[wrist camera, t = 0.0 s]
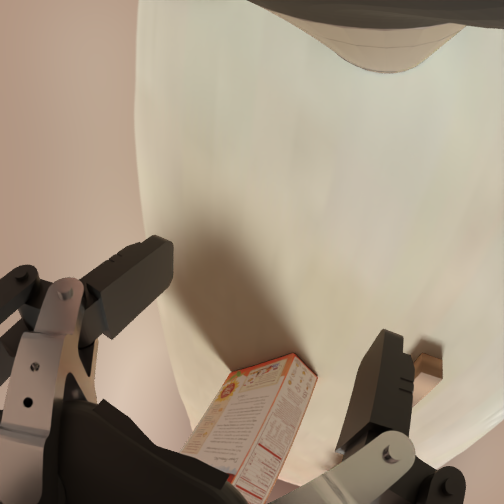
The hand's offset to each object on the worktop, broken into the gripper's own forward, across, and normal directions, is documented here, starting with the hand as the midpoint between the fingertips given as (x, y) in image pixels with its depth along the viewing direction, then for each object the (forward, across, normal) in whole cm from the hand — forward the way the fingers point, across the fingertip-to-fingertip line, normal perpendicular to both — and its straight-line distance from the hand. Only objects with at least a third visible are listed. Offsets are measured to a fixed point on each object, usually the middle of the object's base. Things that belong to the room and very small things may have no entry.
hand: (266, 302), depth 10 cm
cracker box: (+18, 0, +30) cm, 35 cm away
